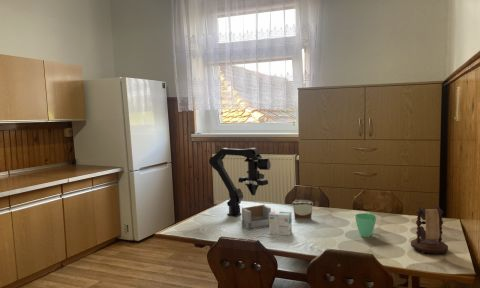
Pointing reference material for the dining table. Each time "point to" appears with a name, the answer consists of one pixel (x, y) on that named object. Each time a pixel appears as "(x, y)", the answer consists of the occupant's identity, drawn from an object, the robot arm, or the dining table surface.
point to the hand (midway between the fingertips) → (253, 195)
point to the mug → (365, 223)
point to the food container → (302, 209)
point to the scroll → (429, 231)
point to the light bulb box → (280, 223)
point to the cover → (255, 211)
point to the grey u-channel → (255, 219)
